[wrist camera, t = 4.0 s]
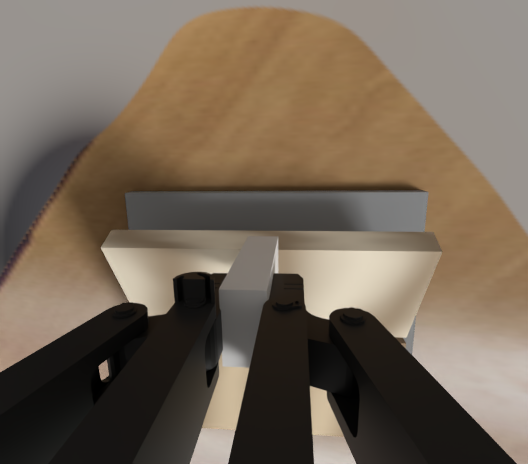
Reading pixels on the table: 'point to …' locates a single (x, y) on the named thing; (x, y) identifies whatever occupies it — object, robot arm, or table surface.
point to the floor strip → (231, 394)
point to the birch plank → (287, 267)
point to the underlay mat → (280, 212)
